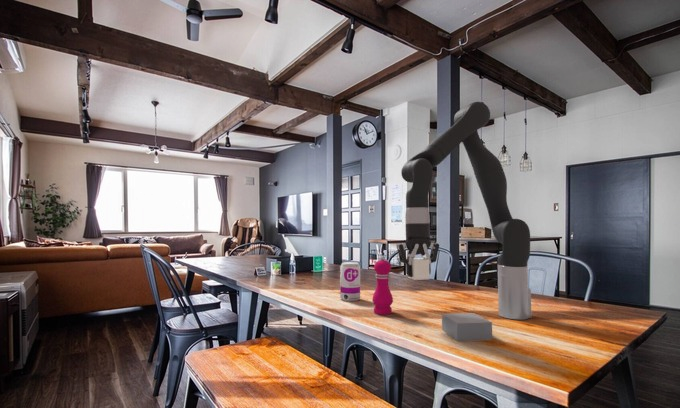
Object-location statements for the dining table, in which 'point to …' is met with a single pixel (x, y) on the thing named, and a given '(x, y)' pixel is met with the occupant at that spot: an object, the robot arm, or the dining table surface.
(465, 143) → the robot arm
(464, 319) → the slate base
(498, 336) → the dining table surface
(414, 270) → the cream block
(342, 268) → the supplement can
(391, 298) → the pepper mill
